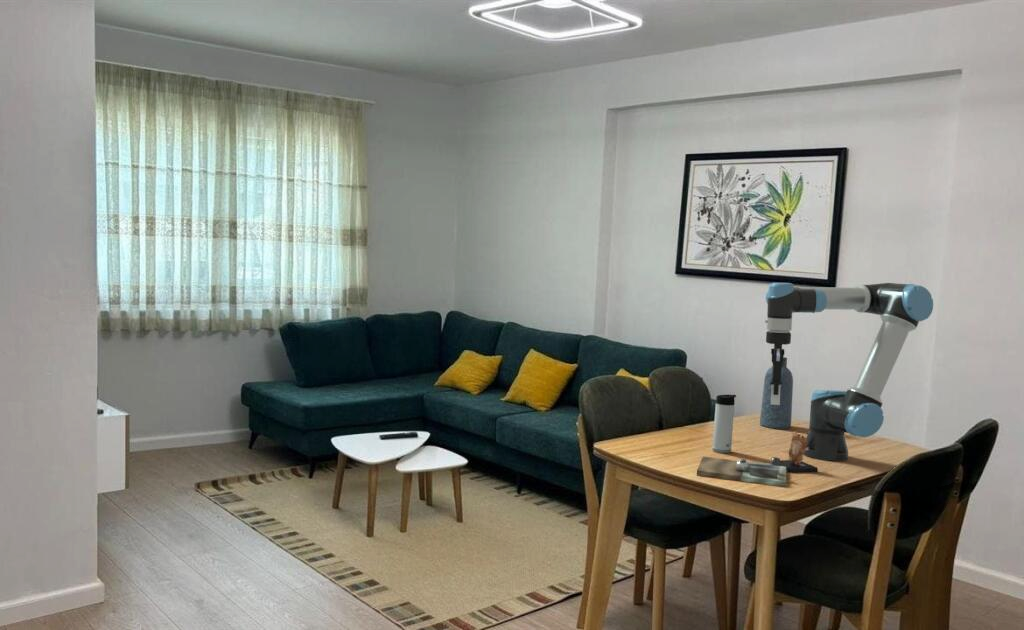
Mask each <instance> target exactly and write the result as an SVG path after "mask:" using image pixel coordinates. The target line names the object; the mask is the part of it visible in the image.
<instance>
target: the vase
mask: <svg viewBox="0 0 1024 630" xmlns="http://www.w3.org/2000/svg"><path fill="white" fill-rule="evenodd" d="M787 364H788V358H787V357H784V356H783V364H782V369H781V382H783V383H782V384H781V388H780V405H771V387H772V384H770V382H772V369H773V365H772V366H771V367H769V368H768V369H767V371H766V373H765V376H764V381H763V382H764V384H763V391H762V399H761V407H760V408H761V409H760V416H759V417H760V418H759V424H760V426H762V427H764V426H765V427H764V428H768V427H769V429H773V428H776V429H775V430H788V429H790V428H791V427H792V416H793V415H792V414H793V413H792V412H793V411H792V410H793V394H794V393H793V392H794V391H793V388H794V376H793V373H792V372H791V370H790V369H789V368H788V365H787Z"/></svg>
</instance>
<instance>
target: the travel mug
mask: <svg viewBox="0 0 1024 630" xmlns="http://www.w3.org/2000/svg"><path fill="white" fill-rule="evenodd" d="M736 398H737V395H736V394H719V395H716V400H715V401H716V402H715V407H714V409H715V410H714V423H713V424H714V425H713V436H712V439H713V440H712V447H711V448H712V451H713V452H714V453H718V454H730V453H732V442H733V441H732V439H733V428H734V414H735V399H736Z"/></svg>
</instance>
